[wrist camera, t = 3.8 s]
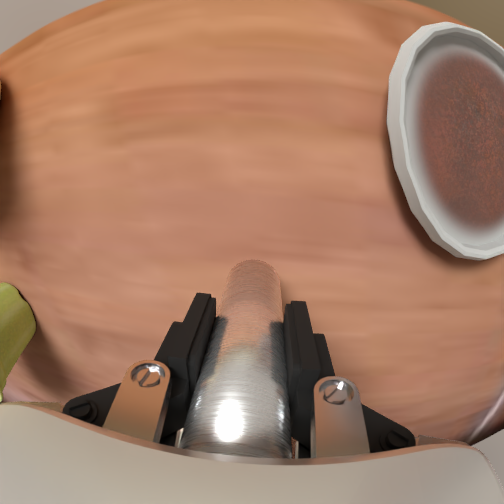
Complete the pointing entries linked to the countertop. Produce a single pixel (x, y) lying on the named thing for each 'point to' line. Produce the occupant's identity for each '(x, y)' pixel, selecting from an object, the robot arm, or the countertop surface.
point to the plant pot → (13, 329)
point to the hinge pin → (243, 372)
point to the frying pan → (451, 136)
